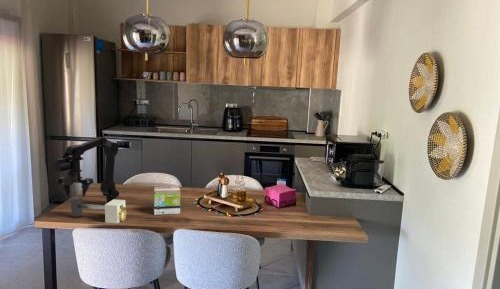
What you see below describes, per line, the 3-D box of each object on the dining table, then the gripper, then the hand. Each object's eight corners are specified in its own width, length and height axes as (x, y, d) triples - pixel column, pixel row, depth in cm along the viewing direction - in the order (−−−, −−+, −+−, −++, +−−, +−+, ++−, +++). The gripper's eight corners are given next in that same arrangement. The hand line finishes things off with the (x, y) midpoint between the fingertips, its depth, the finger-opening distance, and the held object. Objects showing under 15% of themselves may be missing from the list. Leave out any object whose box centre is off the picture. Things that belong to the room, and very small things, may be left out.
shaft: (75, 213, 218) (75, 196, 216) (119, 216, 215) (118, 199, 213) (71, 216, 214) (70, 198, 212) (115, 219, 211) (115, 201, 209)
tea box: (154, 215, 221) (153, 191, 219) (153, 210, 231) (153, 186, 228) (180, 213, 225) (180, 189, 223) (178, 208, 235) (178, 185, 232)
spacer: (124, 217, 216) (124, 205, 215) (126, 218, 216) (126, 205, 215) (118, 222, 209) (118, 209, 208) (120, 222, 209) (120, 209, 208)
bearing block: (114, 216, 218) (113, 199, 217) (125, 217, 218) (125, 200, 216) (105, 222, 209) (104, 204, 207) (117, 223, 208) (117, 205, 206)
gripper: (49, 171, 205) (51, 199, 207) (82, 172, 202) (83, 201, 205) (62, 166, 216) (63, 193, 218) (93, 168, 213) (94, 195, 216)
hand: (76, 195), depth 214 cm, fingers open, 9 cm apart
